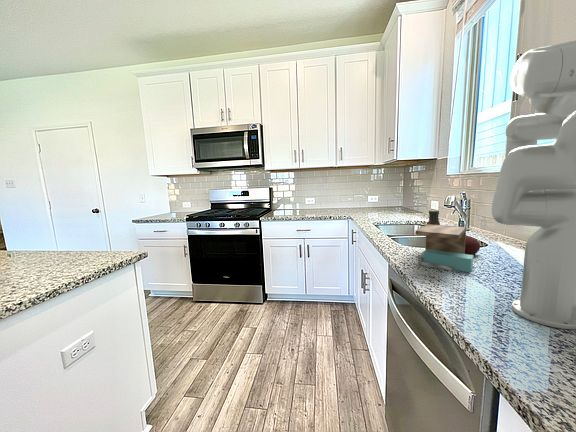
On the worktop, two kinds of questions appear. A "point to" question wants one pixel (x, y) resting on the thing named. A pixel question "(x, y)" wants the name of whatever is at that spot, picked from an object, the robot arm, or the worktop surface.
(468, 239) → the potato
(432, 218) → the sauce bottle
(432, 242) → the overhang shelf
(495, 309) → the worktop surface
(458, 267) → the teal rectangular block
